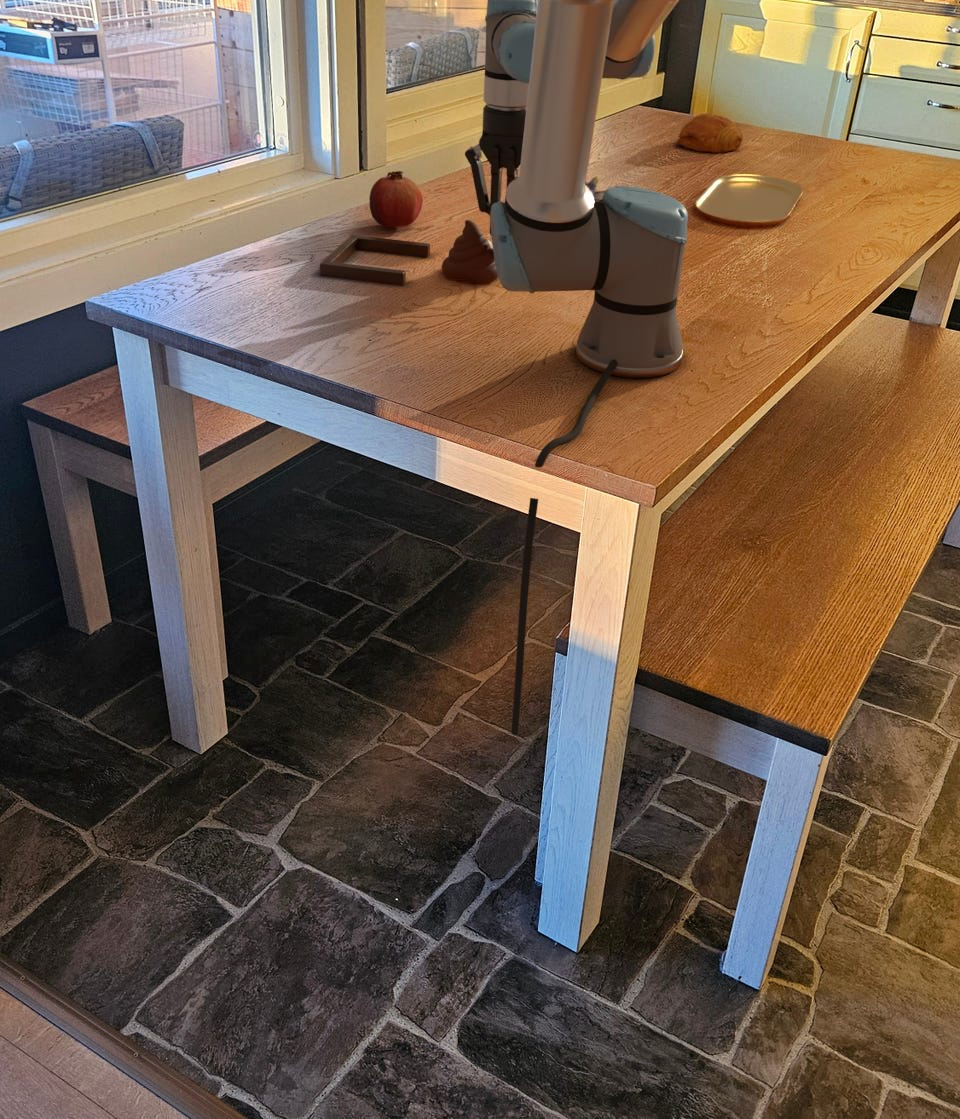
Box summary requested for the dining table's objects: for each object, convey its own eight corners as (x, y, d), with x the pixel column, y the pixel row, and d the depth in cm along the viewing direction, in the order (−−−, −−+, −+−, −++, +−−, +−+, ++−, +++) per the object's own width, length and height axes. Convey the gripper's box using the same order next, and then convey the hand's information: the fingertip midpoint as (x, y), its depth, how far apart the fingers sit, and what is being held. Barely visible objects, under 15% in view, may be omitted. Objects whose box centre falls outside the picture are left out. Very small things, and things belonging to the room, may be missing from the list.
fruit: (389, 214, 210) (389, 161, 204) (433, 224, 206) (433, 170, 200) (357, 228, 202) (355, 173, 196) (401, 239, 198) (400, 183, 192)
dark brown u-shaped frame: (403, 285, 179) (403, 273, 177) (320, 275, 181) (319, 263, 180) (430, 254, 191) (430, 243, 190) (352, 245, 194) (351, 234, 193)
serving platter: (684, 220, 213) (685, 212, 212) (722, 177, 240) (723, 169, 239) (780, 234, 208) (781, 226, 207) (807, 189, 234) (809, 181, 233)
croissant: (701, 144, 272) (703, 110, 269) (751, 149, 262) (754, 113, 258) (662, 150, 264) (664, 115, 261) (712, 155, 254) (714, 118, 250)
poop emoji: (434, 279, 181) (435, 224, 176) (451, 263, 188) (453, 209, 183) (491, 288, 179) (493, 232, 173) (506, 272, 185) (509, 217, 180)
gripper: (553, 104, 169) (543, 253, 182) (472, 96, 171) (468, 244, 185) (544, 114, 163) (534, 267, 176) (460, 106, 165) (457, 258, 179)
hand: (500, 255), depth 180 cm, fingers closed
